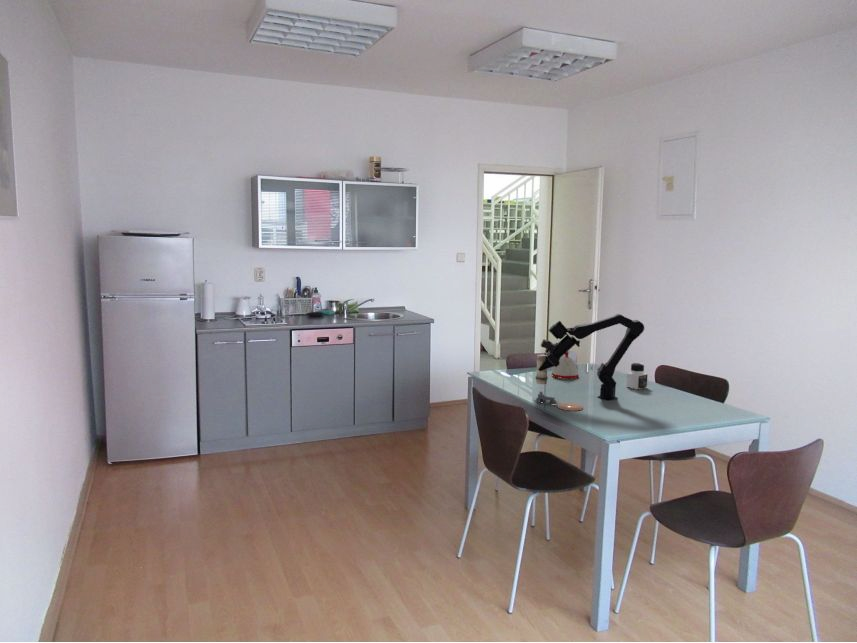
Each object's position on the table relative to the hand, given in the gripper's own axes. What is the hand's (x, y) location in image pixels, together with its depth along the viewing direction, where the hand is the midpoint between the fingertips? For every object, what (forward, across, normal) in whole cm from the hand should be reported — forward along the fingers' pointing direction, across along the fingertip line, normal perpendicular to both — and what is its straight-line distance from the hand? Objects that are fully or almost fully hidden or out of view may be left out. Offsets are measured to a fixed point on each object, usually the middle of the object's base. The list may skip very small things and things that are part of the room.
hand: (538, 369), depth 297 cm
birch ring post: (+4, 0, +6) cm, 7 cm away
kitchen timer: (-2, -45, +20) cm, 49 cm away
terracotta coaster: (0, +20, +18) cm, 27 cm away
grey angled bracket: (+7, +12, +11) cm, 17 cm away
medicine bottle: (-25, -24, +44) cm, 56 cm away
